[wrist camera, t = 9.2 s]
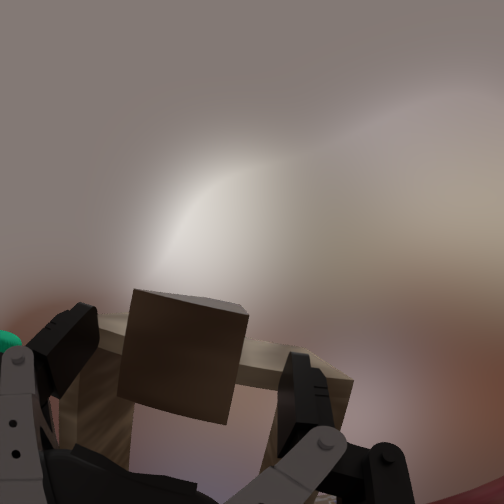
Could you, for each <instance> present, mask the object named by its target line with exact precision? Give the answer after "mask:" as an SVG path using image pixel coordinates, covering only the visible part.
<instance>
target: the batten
mask: <svg viewBox="0 0 504 504" xmlns="http://www.w3.org/2000/svg"><path fill="white" fill-rule="evenodd" d="M248 319H249V314H248V313H247V312H246V311H245V310H244V308H243V307H242V306H241V305H239V304H235V303H230V302H225V301H220V300H215V299H211V298H205V297H195V296H187V295H179V294H170V293H162V292H155V291H147V290H140V289H134V290H133V295H132V300H131V305H130V311H129V315H128V321H127V326H126V332H125V338H124V344H123V351H122V358H121V365H120V372H119V380H118V388H117V397H120V398H123V399H126V400H129V401H132V402H135V403H138V404H142V405H145V406H148V407H152V408H155V409H159V410H162V411H166V412H169V413H173V414H177V415H181V416H186V417H189V418H193V419H198V420H202V421H207V422H212V423H217V424H222V425H227V419H228V415H229V410H230V405H231V401H232V396H233V392H234V387H235V382H236V377H237V373H238V368H239V363H240V358H241V353H242V348H243V344H244V339H245V334H246V328H247V324H248Z"/></svg>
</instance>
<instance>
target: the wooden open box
mask: <svg viewBox="0 0 504 504" xmlns="http://www.w3.org/2000/svg"><path fill="white" fill-rule="evenodd" d="M128 315H129V312H126V313H114V314H99V315H98V324H99V334H100V340H99V345H98V347H97V349H96V351H95V352H94V353H93V355H92V356H91V357H90V359H89V360H88V362H87V363H86V364H85V366H84V367H83V368H82V370H81V371H80V372H79V374H78V375H77V377H76V378H75V379H74V381H73V382H72V384H71V385H70V386H69V388H68V389H67V391H66V392H65V394H64V395H63V396H62V398H61V399H59V448H60V449H70V450H72V449H73V447H74V446H75V444H76V443H77V444H79V445H81V446H83V447H85V448H88V449H90V450H92V451H95V452H97V453H100V454H102V455H104V456H105V457H107V458H108V459H110V460H111V461H113V462H114V463H116V464H117V465H119V466H121V467H122V468H124V469H125V470H127V471H128V470H129V455H130V443H131V432H132V422H133V413H134V404H135V402H132V401H129V400H126V399H123V398H120V397H117V388H118V380H119V372H120V365H121V358H122V351H123V344H124V338H125V332H126V326H127V321H128ZM290 351H291V352H298V353H305V354H309V356H310V363H311V367H314V368H320V370H321V371H322V373H323V374H324V375H325V377H326V380H327V385H328V391H329V398H330V402H331V408H332V413H333V419H334V425H335V429H337V430H339V431H340V429H341V426H342V423H343V419H344V416H345V412H346V409H347V405H348V402H349V398H350V394H351V390H352V386H353V382H354V380H353V379H352V378H350V377H348V376H347V375H345V374H344V373H342V372H341V371H339V370H338V369H336V368H334V367H333V366H331V365H330V364H328V363H327V362H325V361H323V360H322V359H321V358H319V357H318V356H316V355H315V354H313V353H312V352H310V351H309V350H307V349H305V348H303V347H297V346H290V345H284V344H278V343H273V342H267V341H261V340H255V339H251V338H245V339H244V344H243V348H242V353H241V358H240V363H239V368H238V373H237V377H236V382H235V384H239V385H245V386H250V387H256V388H262V389H269V390H275V391H278V385H279V381H280V377H281V375H282V372H283V369H284V366H285V363H286V360H287V357H288V354H289V352H290ZM277 416H278V403H277V408H276V412H275V416H274V420H273V424H272V428H271V431H270V435H269V439H268V443H267V447H266V450H265V454H264V458H263V461H262V465H261V469H260V472H259V474H261V473H262V472H263V471H264V470H265V469H267V468H268V467H269V466H274V465H275V464H277V463H278V462H279V461H280V460H281V459H282V458H277ZM318 492H319V491H316V490H314V491H313V492H312V494H311V495H310V496H309V497H308V499H307V500H306V501H305V502H304V503H303V504H314V502H315V500H316V497H317V495H318Z"/></svg>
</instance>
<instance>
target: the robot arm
mask: <svg viewBox="0 0 504 504" xmlns="http://www.w3.org/2000/svg"><path fill="white" fill-rule="evenodd" d="M99 340H100V334H99V324H98V314H97V309H96V307H94V306H91V305H88V304H85V303H82V302H79V303H77V304H76V305H75V306H74V307H73V308H72V309H71V310H70V311H69V310H66V311H64V312H62V313H59V314H57V315H56V316H55V317H54V318H53V319H52V320H51V321H50V323H48V324H47V325H46V326H45V328H43V329H42V330H41V331H40V332H39V333H38V334H37V335H36V336H35V337H34V338H33V339H32V340H31V341H30V342H29V343H28V344H27V345H26V346H21V345H17V346H13V347H10V348H9V349H7V350H6V351H5V352H4V353H3V352H0V504H219V503H217V502H216V501H215V500H213V499H212V498H210V497H209V496H207V495H205V494H203V493H201V492H199V491H197V490H196V489H197V483H193V482H189V481H184V480H180V479H176V478H172V477H169V476H165V475H151V474H140V473H132V472H129V471H127V470H125V469H124V468H122V467H121V466H119V465H117V464H116V463H114V462H113V461H111V460H110V459H108V458H107V457H105V456H104V455H102V454H100V453H97V452H95V451H92V450H90V449H88V448H85V447H83V446H81V445H79V444H77V443H76V444H75V446H74V447H73V449H72V450H70V449H60V448H59V445H58V442H57V439H56V434H55V429H54V423H53V418H52V411H51V404H50V401H49V397H50V396H51V395H52V396H54V397H56V398H58V399H61V398H62V396H63V395H64V394H65V392H66V391H67V389H68V388H69V386H70V385H71V384H72V382H73V381H74V379H75V378H76V377H77V375H78V374H79V372H80V371H81V370H82V368H83V367H84V366H85V364H86V363H87V362H88V360H89V359H90V357H91V356H92V355H93V353H94V352H95V351H96V349H97V347H98V345H99ZM277 458H282V459H281V460H280V461H279V462H278V463H277V464H275V465H274V466H269V467H268V468H267V469H265V470H264V471H263V472H262V473H261V474H259V475H258V476H257V477H256V478H255V479H254V480H252V481H251V482H250V483H249V484H248V485H246V486H245V487H244V488H243V489H242V490H240V491H239V492H238V493H237V494H235V495H234V496H233V497H232V498H230V499H229V500H228V501H226V502H225V503H224V504H303V503H304V502H305V501H306V500H307V499H308V497H309V496H310V495H311V494H312V492H313V491H314V490H316V491H319V492H322V493H326V494H329V495H333V496H336V504H415V501H414V496H413V491H412V487H411V482H410V478H409V473H408V468H407V464H406V460H405V456H404V454H403V452H402V451H401V449H400V448H399V447H397V446H396V445H394V444H391V443H387V442H381V443H378V444H376V445H374V446H373V447H372V448H371V449H367V448H364V447H360V446H356V445H353V444H350V443H348V442H347V441H346V438H345V437H344V435H343V434H342V433H341V432H340V431H339V430H337V429H335V425H334V419H333V413H332V408H331V402H330V398H329V391H328V385H327V380H326V377H325V375H324V374H323V373H322V371H321V370H320V368H314V367H311V363H310V356H309V354H305V353H298V352H291V351H290V352H289V354H288V357H287V360H286V363H285V366H284V369H283V372H282V375H281V377H280V381H279V385H278V416H277Z"/></svg>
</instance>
